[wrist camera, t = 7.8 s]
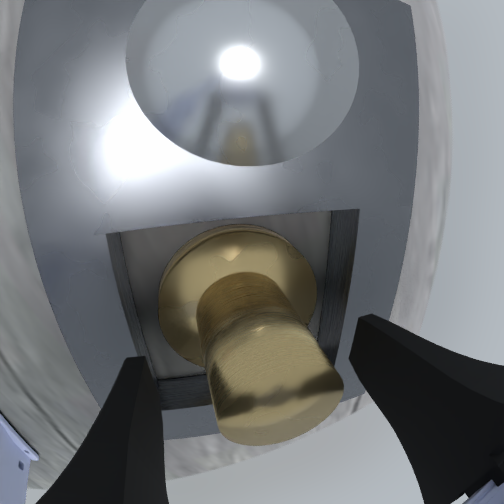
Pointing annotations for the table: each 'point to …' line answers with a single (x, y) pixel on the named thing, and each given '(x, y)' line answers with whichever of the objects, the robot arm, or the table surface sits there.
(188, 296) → the gold flanged round piece
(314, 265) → the table surface
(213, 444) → the table surface
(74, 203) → the carrier plate
